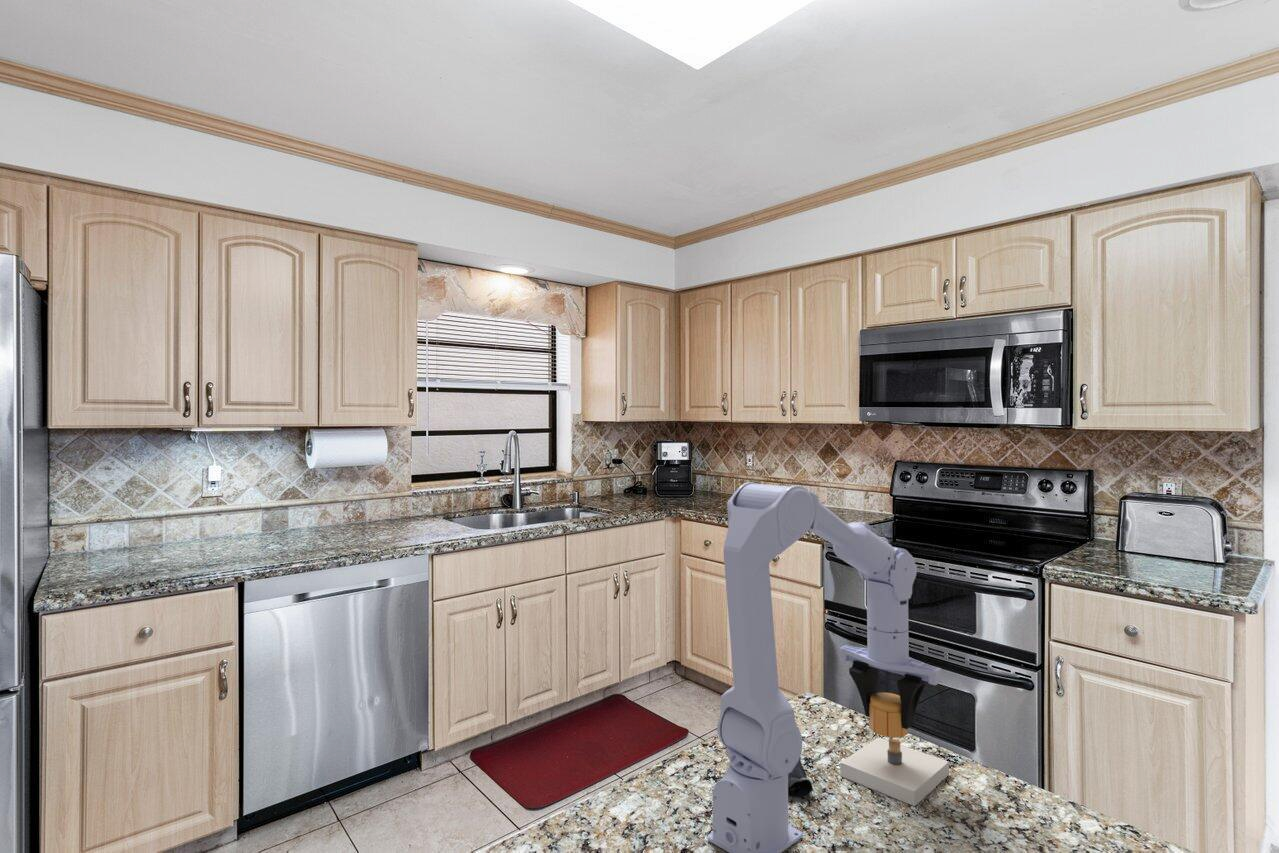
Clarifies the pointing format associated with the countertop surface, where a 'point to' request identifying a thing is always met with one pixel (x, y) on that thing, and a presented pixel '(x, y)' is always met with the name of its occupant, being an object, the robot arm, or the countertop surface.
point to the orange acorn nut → (886, 715)
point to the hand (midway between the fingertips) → (888, 720)
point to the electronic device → (799, 781)
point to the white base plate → (895, 770)
